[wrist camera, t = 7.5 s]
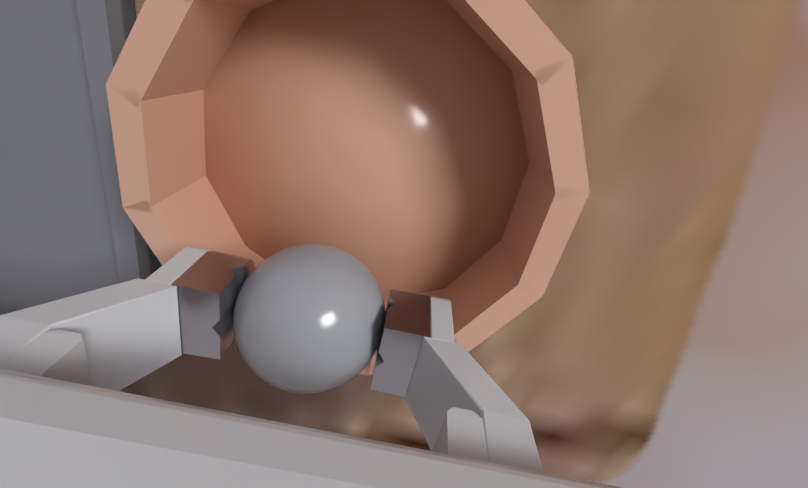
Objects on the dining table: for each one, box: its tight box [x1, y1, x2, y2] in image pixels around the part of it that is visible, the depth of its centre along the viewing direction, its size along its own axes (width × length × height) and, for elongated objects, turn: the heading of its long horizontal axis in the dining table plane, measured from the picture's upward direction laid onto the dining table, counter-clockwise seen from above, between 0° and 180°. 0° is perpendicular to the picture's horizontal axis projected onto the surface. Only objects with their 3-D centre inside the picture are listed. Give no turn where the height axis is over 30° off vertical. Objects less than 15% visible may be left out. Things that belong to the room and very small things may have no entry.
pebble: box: [233, 243, 385, 394], centre depth 9 cm, size 3×3×3 cm
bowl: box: [106, 0, 590, 375], centre depth 12 cm, size 12×12×4 cm
